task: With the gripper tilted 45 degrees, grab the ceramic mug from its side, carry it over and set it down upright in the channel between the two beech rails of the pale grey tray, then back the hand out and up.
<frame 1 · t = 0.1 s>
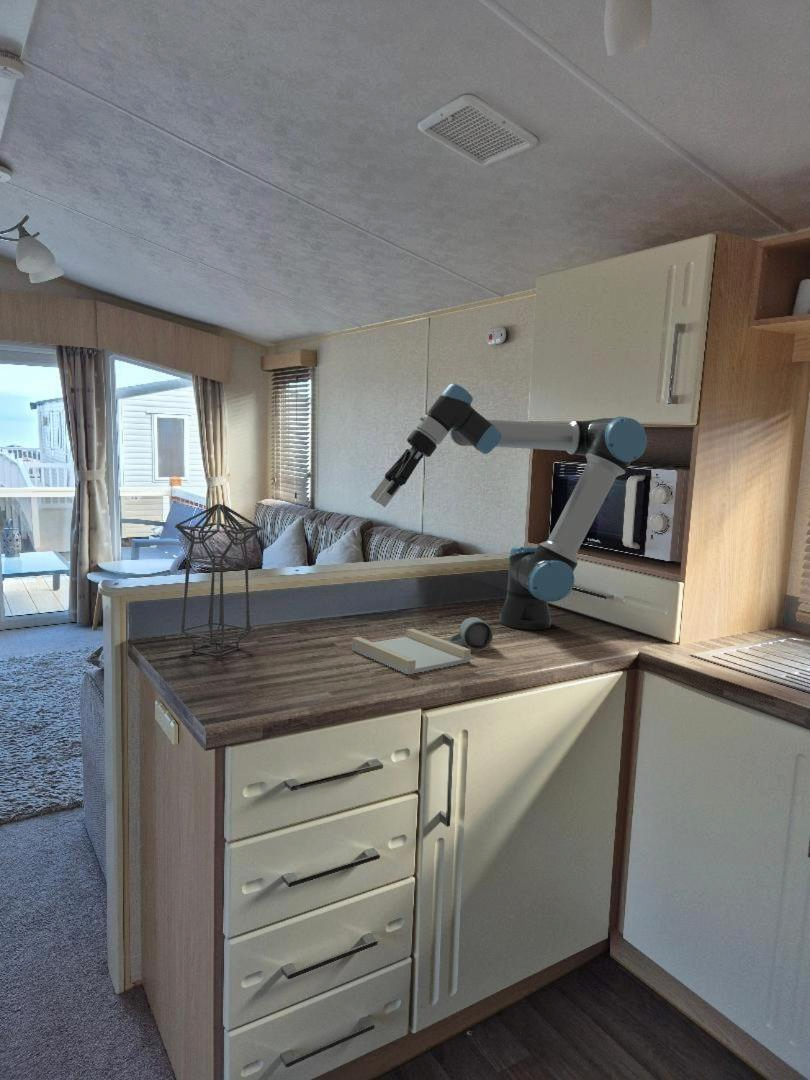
hand: (376, 502, 187), 36 cm above the counter, tool tilted 35°, fingers open, 13 cm apart
ceramic mug: (469, 647, 185), on the counter
geometric lantern: (217, 649, 173), on the counter
rail tray: (410, 656, 174), on the counter
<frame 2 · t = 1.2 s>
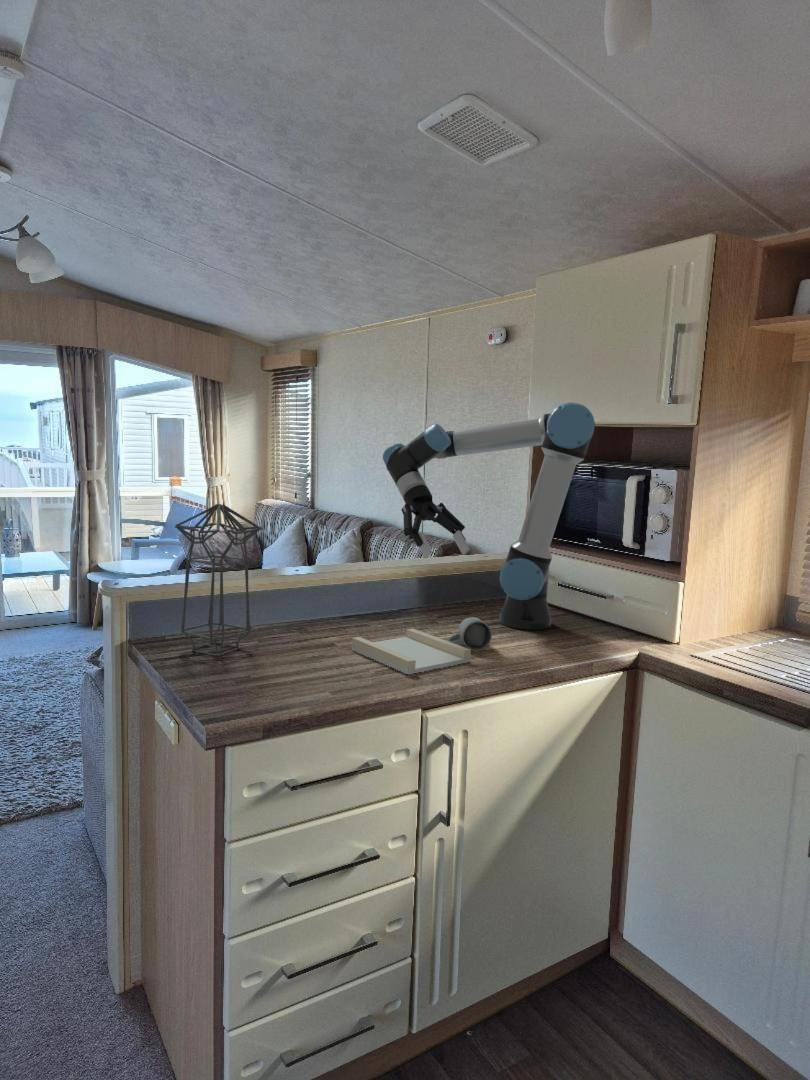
hand: (448, 553, 190), 23 cm above the counter, tool tilted 45°, fingers open, 13 cm apart
nothing on the counter moved.
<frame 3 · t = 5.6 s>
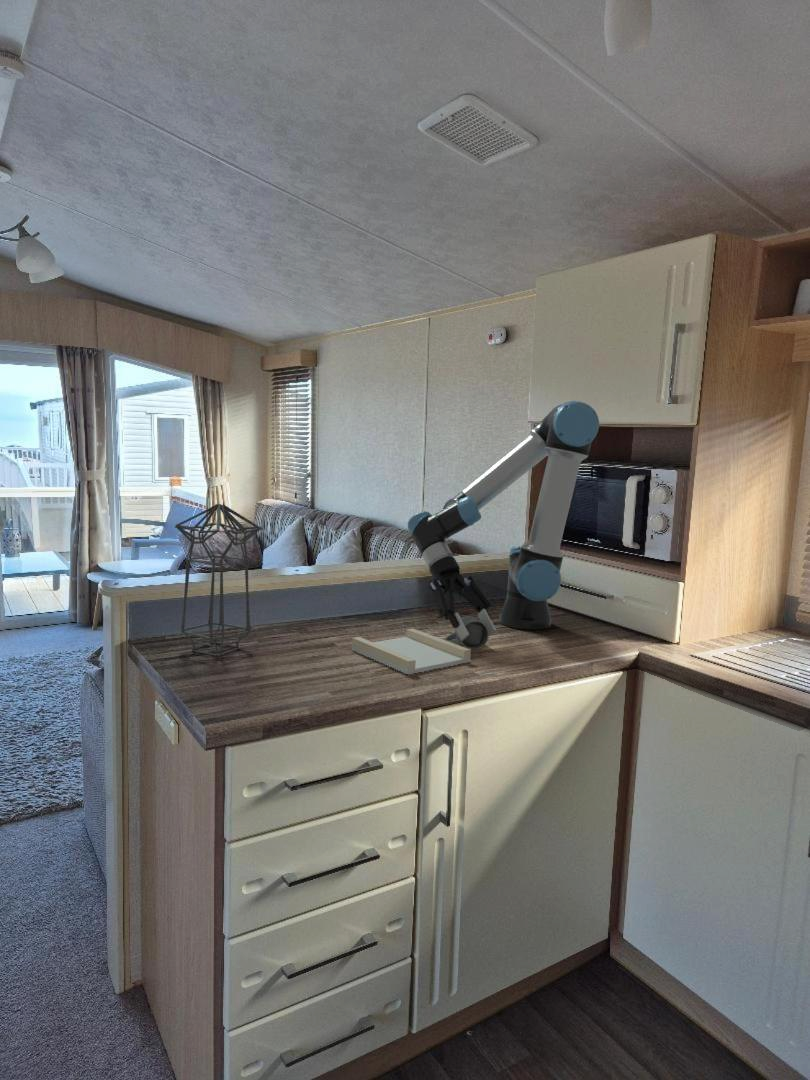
hand: (479, 635, 182), 4 cm above the counter, tool tilted 45°, fingers closed on ceramic mug, 9 cm apart
ceramic mug: (464, 647, 186), on the counter, touching gripper
everything else where it was.
when the fingers open (6 cm above the counter, at t = 10.9 s): ceramic mug drops 1 cm, resting on rail tray.
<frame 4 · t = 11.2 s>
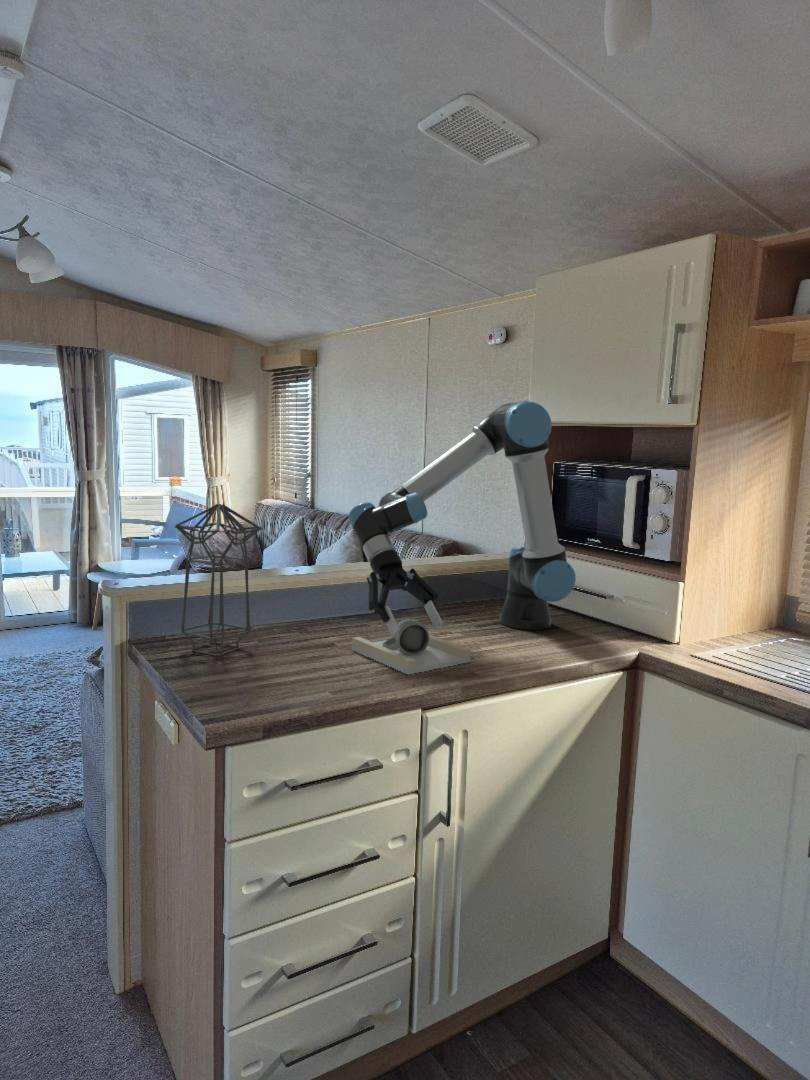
hand: (417, 629, 171), 7 cm above the counter, tool tilted 45°, fingers open, 13 cm apart
ceramic mug: (404, 651, 174), point 1 cm above the counter, touching rail tray
everything else where it was.
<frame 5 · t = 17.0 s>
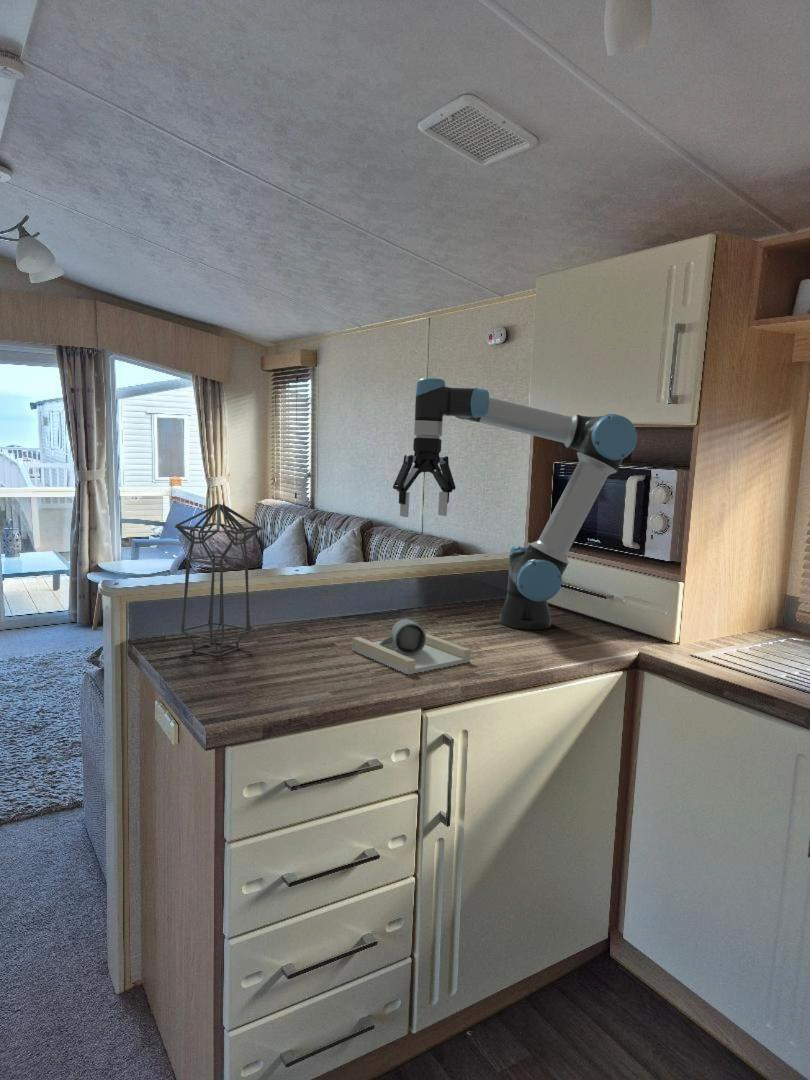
hand: (423, 516, 196), 32 cm above the counter, tool pointing down, fingers open, 13 cm apart
nothing on the counter moved.
at the end: ceramic mug inside the target area on the rail tray (2.1 cm from its centre), point 1.0 cm above the rail tray's base; ceramic mug tilted 2°; the gripper is holding nothing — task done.
